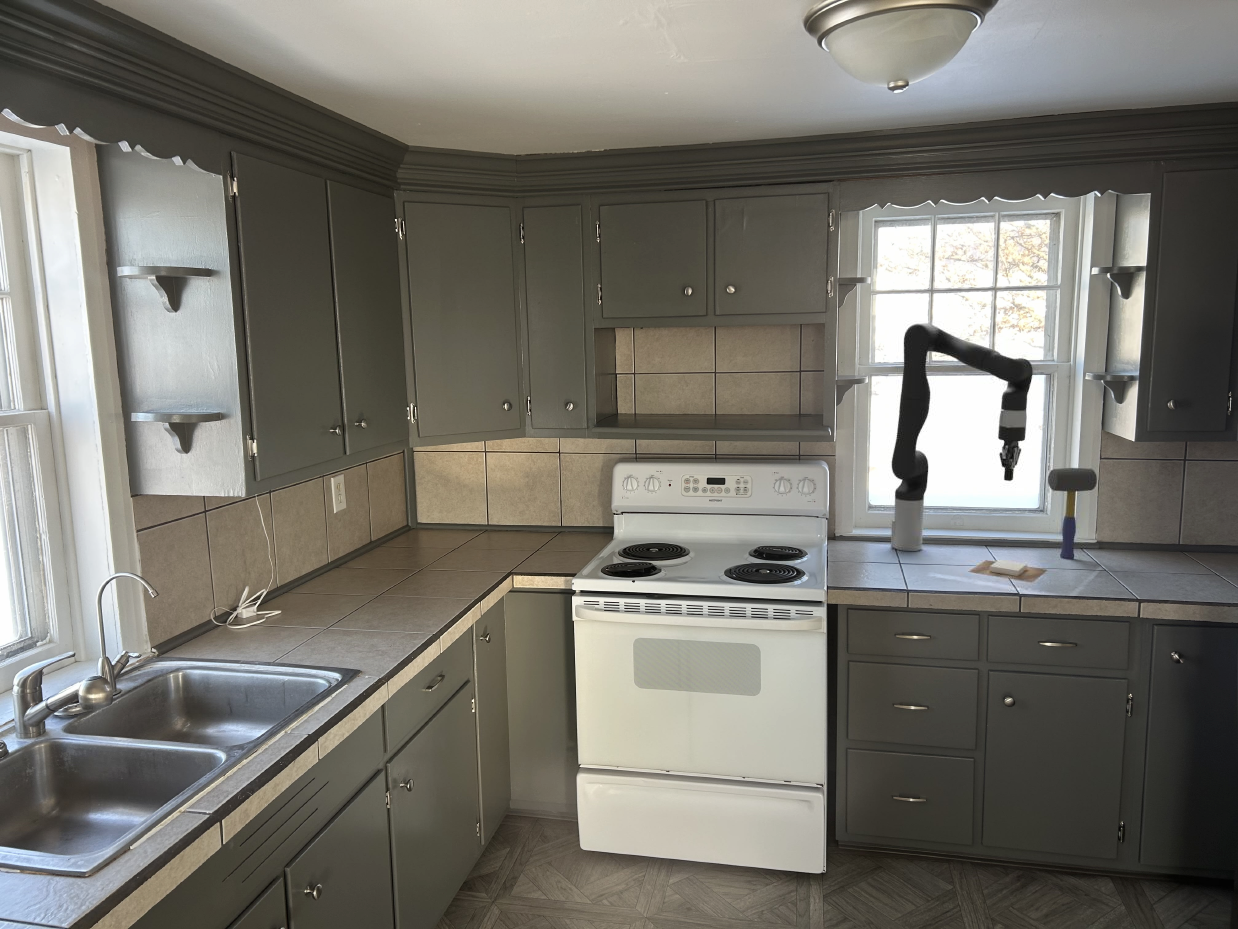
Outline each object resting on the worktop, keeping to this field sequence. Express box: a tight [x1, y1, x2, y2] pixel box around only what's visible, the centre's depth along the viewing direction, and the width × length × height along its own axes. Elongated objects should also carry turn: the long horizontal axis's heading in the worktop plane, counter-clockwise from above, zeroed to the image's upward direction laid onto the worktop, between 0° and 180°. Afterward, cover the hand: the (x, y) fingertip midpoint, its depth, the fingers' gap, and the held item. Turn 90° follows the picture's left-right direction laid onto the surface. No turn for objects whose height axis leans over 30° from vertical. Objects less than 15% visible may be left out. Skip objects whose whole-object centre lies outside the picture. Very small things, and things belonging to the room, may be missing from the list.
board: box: [968, 559, 1048, 583], centre depth 257 cm, size 18×16×1 cm
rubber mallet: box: [1047, 467, 1098, 560], centre depth 268 cm, size 12×8×30 cm, turn 88°
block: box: [990, 559, 1028, 576], centre depth 257 cm, size 8×2×9 cm
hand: (1008, 480), depth 263 cm, fingers closed
